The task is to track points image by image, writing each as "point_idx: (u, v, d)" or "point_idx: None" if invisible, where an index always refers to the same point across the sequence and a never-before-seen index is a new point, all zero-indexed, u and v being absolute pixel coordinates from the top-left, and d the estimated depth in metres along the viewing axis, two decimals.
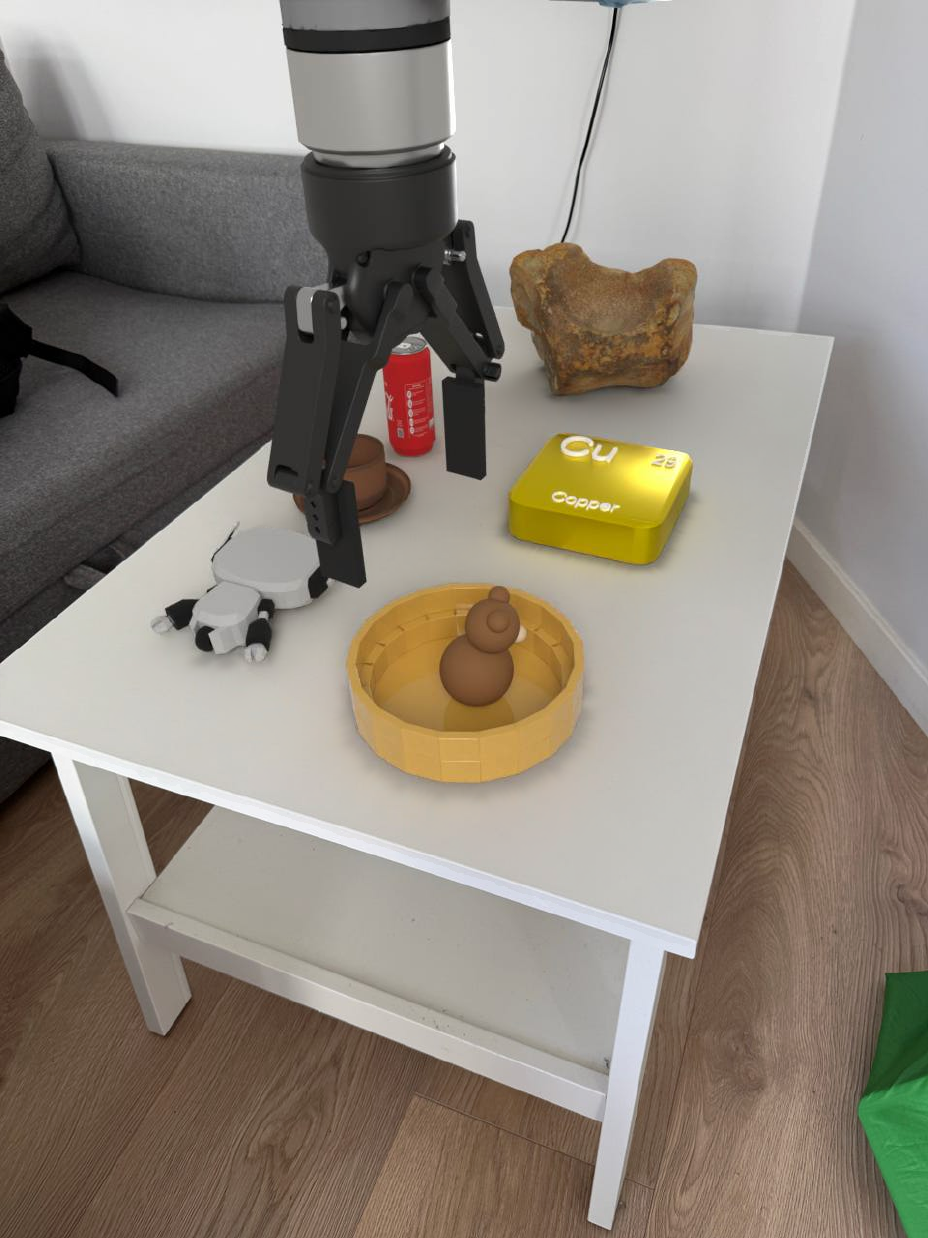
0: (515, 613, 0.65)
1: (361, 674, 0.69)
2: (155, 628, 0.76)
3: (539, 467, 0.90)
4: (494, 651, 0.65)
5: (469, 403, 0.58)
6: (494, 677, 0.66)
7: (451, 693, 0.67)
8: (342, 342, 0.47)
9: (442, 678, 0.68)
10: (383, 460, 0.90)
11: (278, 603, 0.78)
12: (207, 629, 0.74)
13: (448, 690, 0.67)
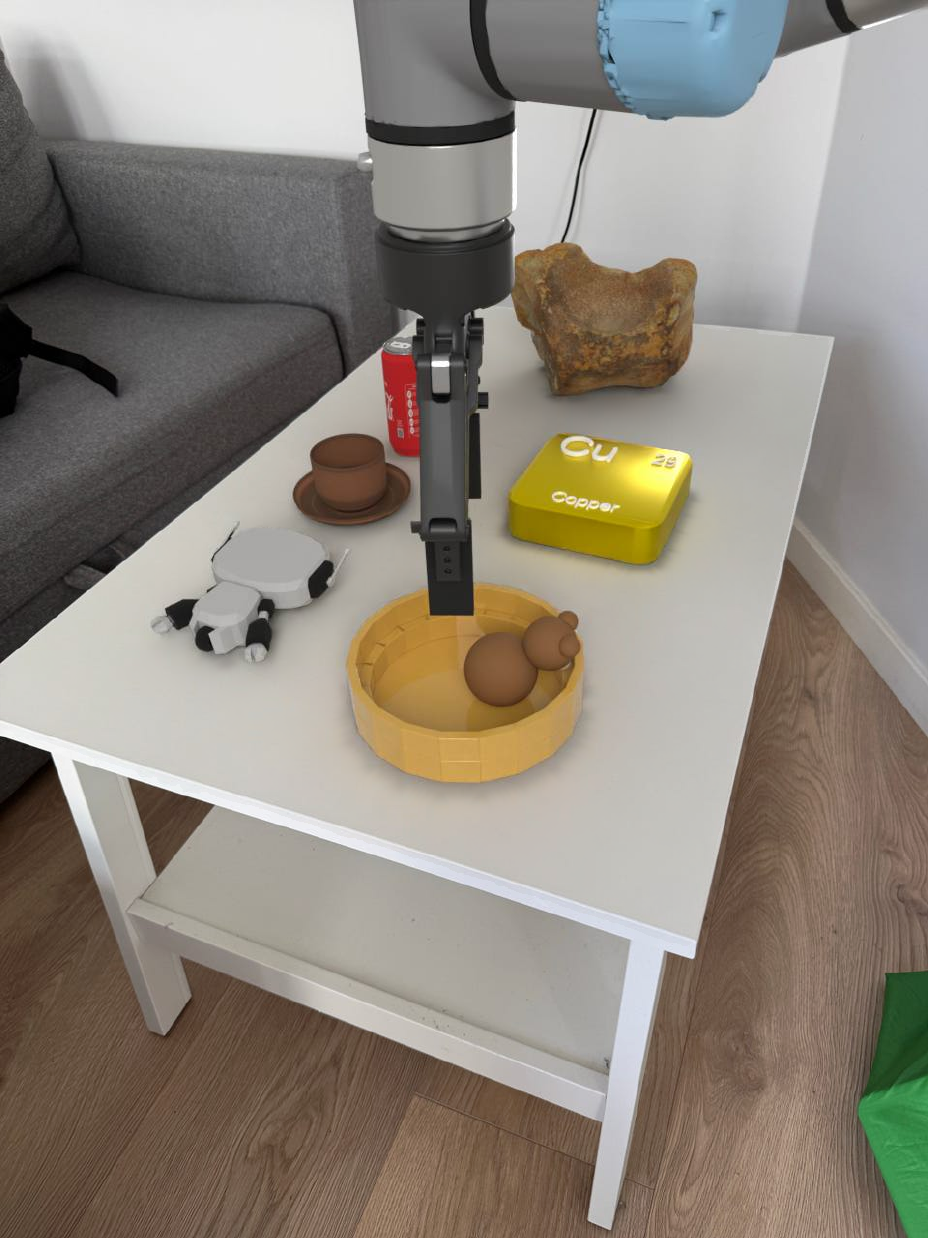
0: None
1: (361, 674, 0.69)
2: (155, 628, 0.76)
3: (540, 467, 0.90)
4: (543, 668, 0.66)
5: (469, 432, 0.63)
6: (525, 688, 0.67)
7: (476, 681, 0.66)
8: None
9: (475, 663, 0.66)
10: (383, 460, 0.90)
11: (278, 603, 0.78)
12: (207, 629, 0.74)
13: (474, 677, 0.67)
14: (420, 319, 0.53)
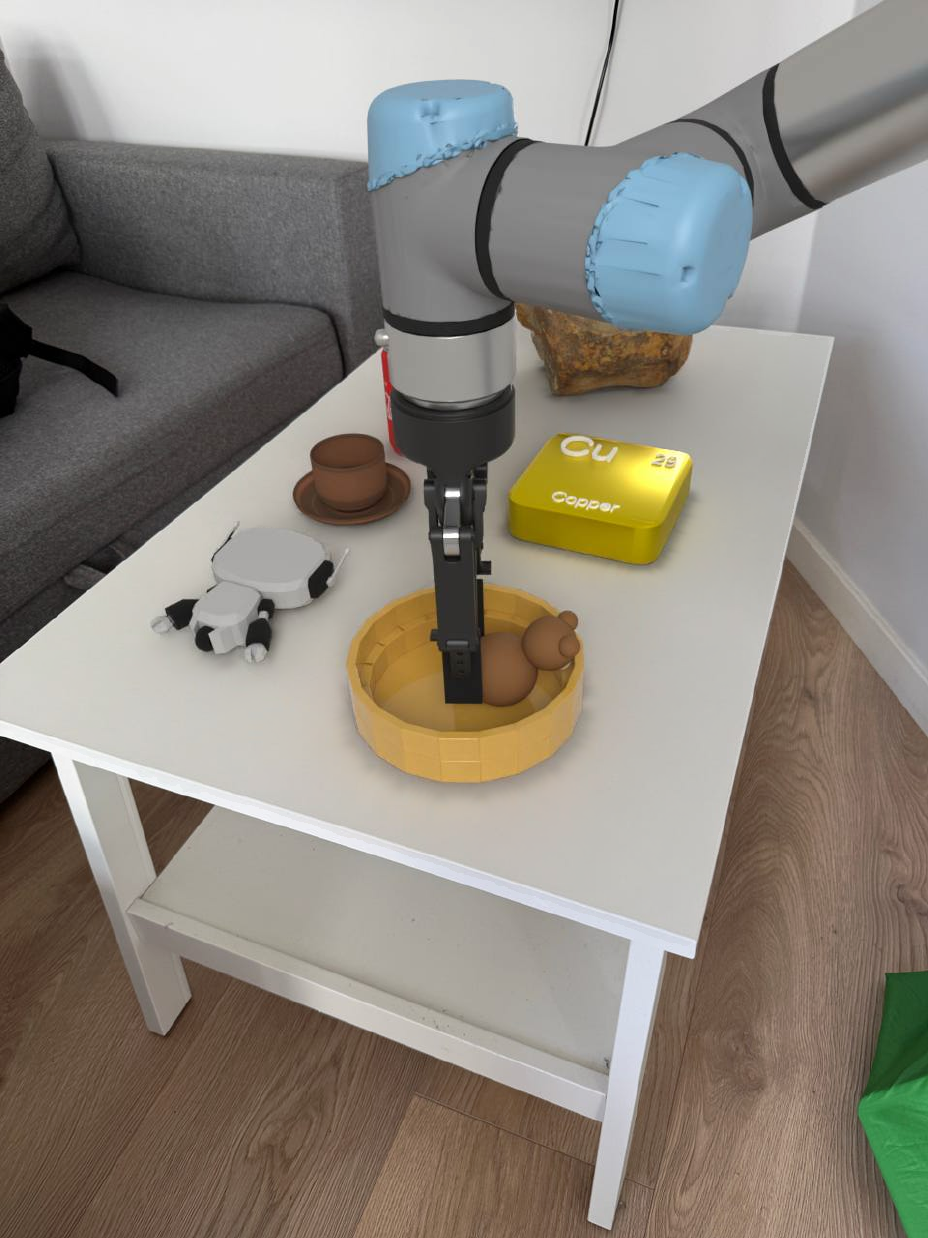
0: None
1: (361, 674, 0.69)
2: (155, 628, 0.76)
3: (540, 467, 0.90)
4: (543, 668, 0.66)
5: None
6: (524, 688, 0.67)
7: None
8: None
9: None
10: (383, 460, 0.90)
11: (278, 603, 0.78)
12: (207, 629, 0.74)
13: None
14: None
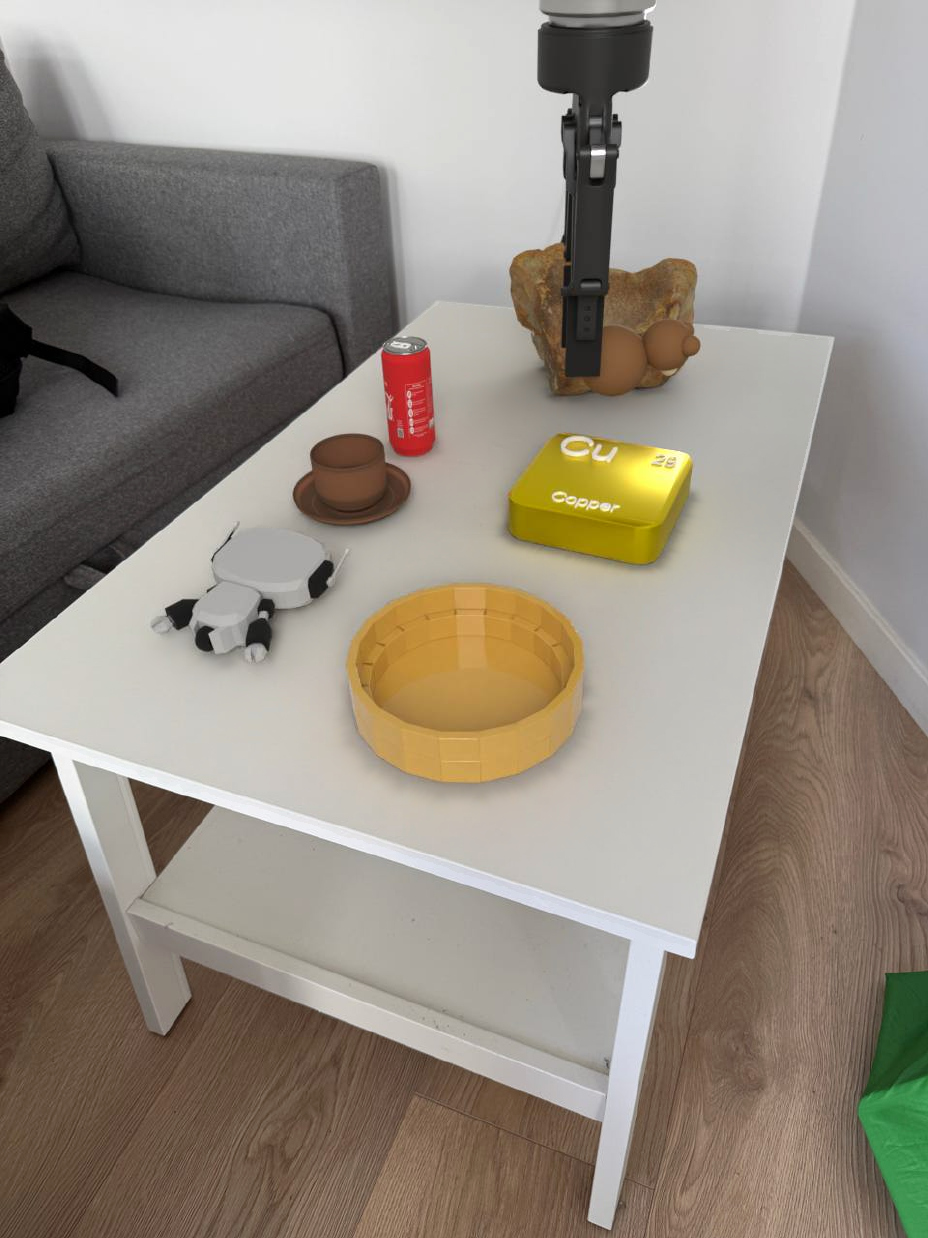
0: None
1: (361, 674, 0.69)
2: (155, 628, 0.76)
3: (540, 467, 0.90)
4: (660, 361, 0.72)
5: None
6: (636, 378, 0.73)
7: None
8: None
9: None
10: (383, 460, 0.90)
11: (278, 603, 0.78)
12: (207, 629, 0.74)
13: None
14: (564, 115, 0.64)
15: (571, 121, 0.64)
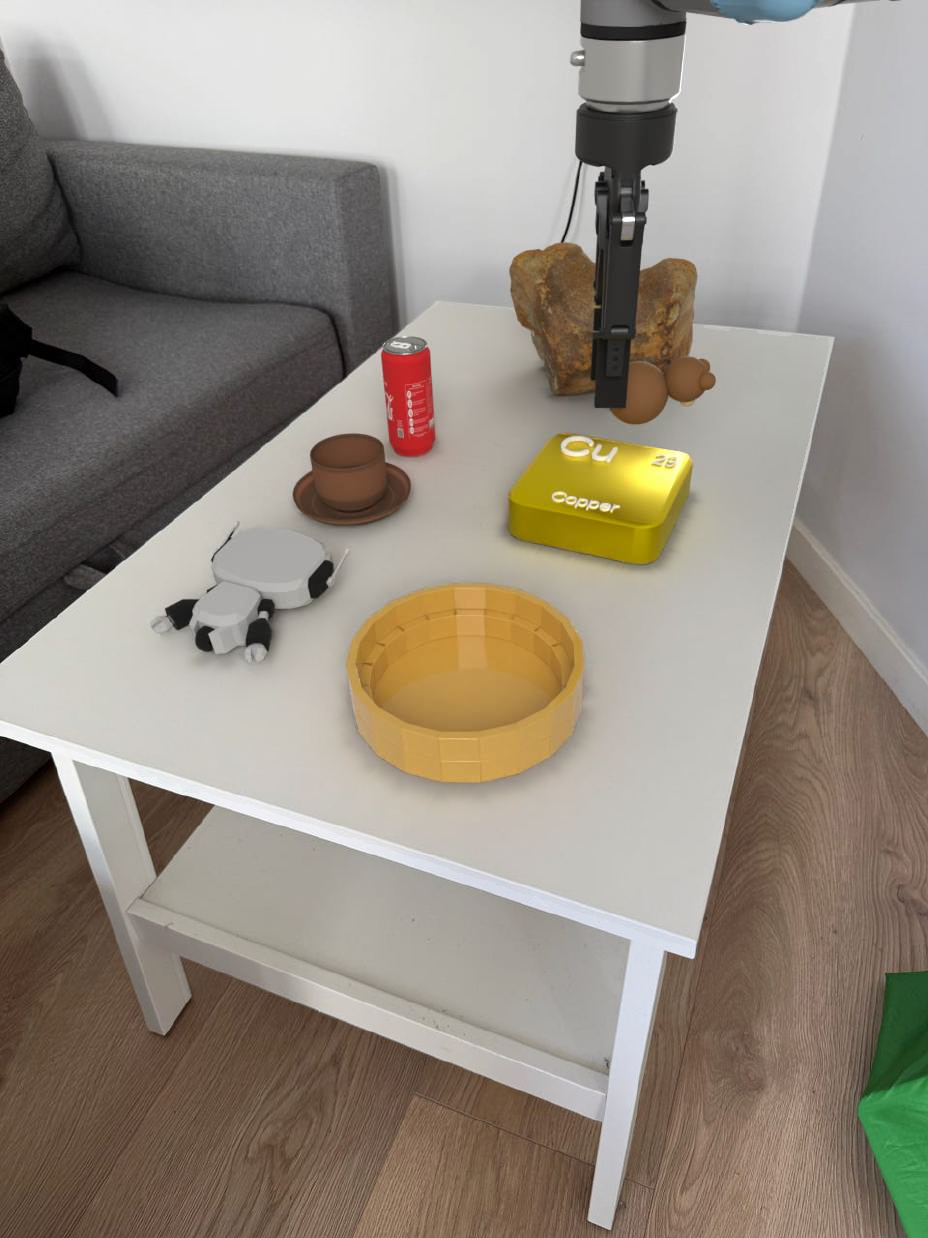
0: None
1: (361, 674, 0.69)
2: (155, 628, 0.76)
3: (540, 467, 0.90)
4: (679, 394, 0.81)
5: None
6: (658, 408, 0.81)
7: None
8: None
9: None
10: (383, 460, 0.90)
11: (278, 603, 0.78)
12: (207, 629, 0.74)
13: None
14: (598, 181, 0.73)
15: (604, 187, 0.73)
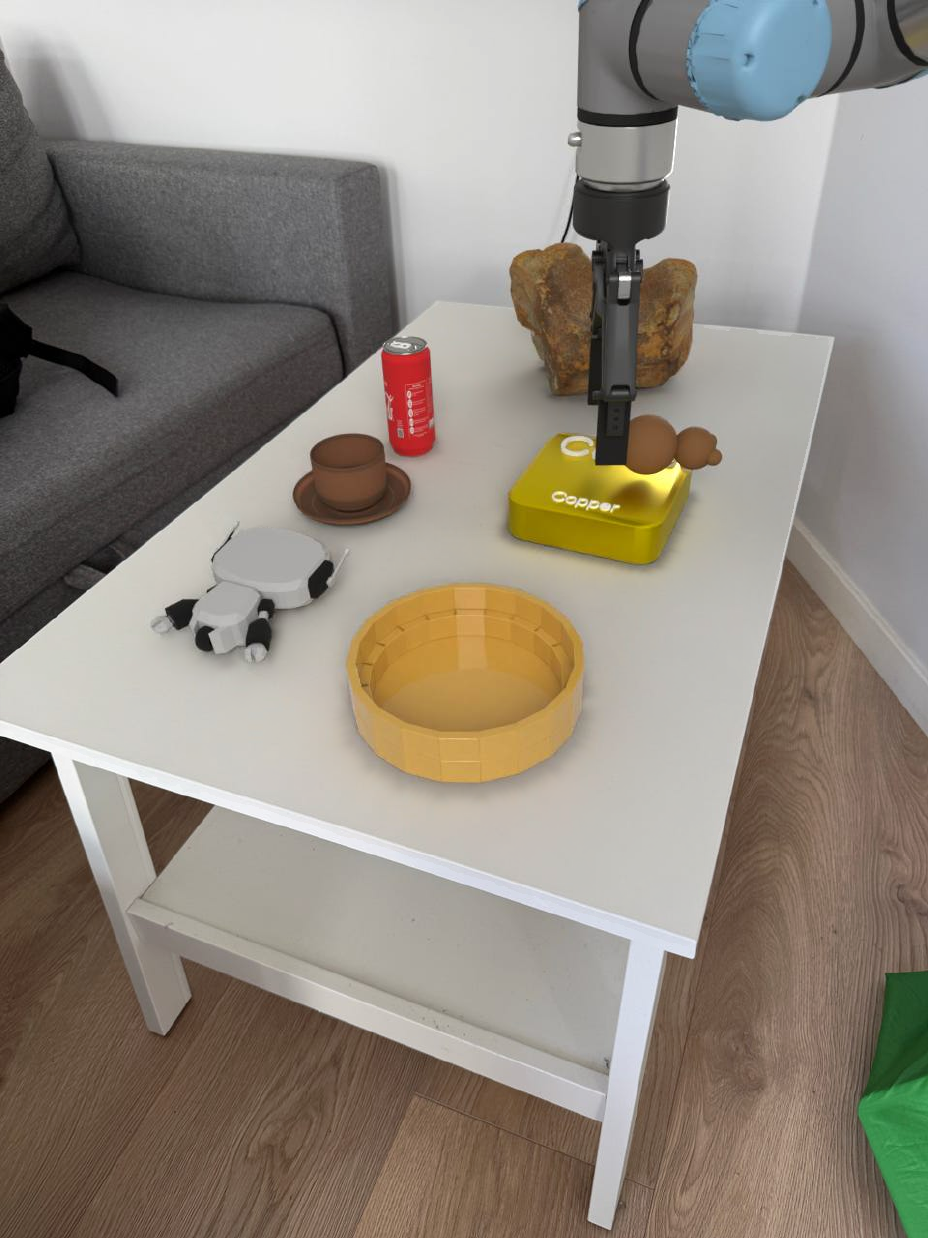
0: None
1: (361, 674, 0.69)
2: (155, 628, 0.76)
3: (540, 467, 0.90)
4: (686, 461, 0.85)
5: None
6: (663, 467, 0.85)
7: (641, 440, 0.83)
8: None
9: (648, 428, 0.83)
10: (383, 460, 0.90)
11: (278, 603, 0.78)
12: (207, 629, 0.74)
13: (642, 437, 0.83)
14: (595, 250, 0.76)
15: (600, 256, 0.76)
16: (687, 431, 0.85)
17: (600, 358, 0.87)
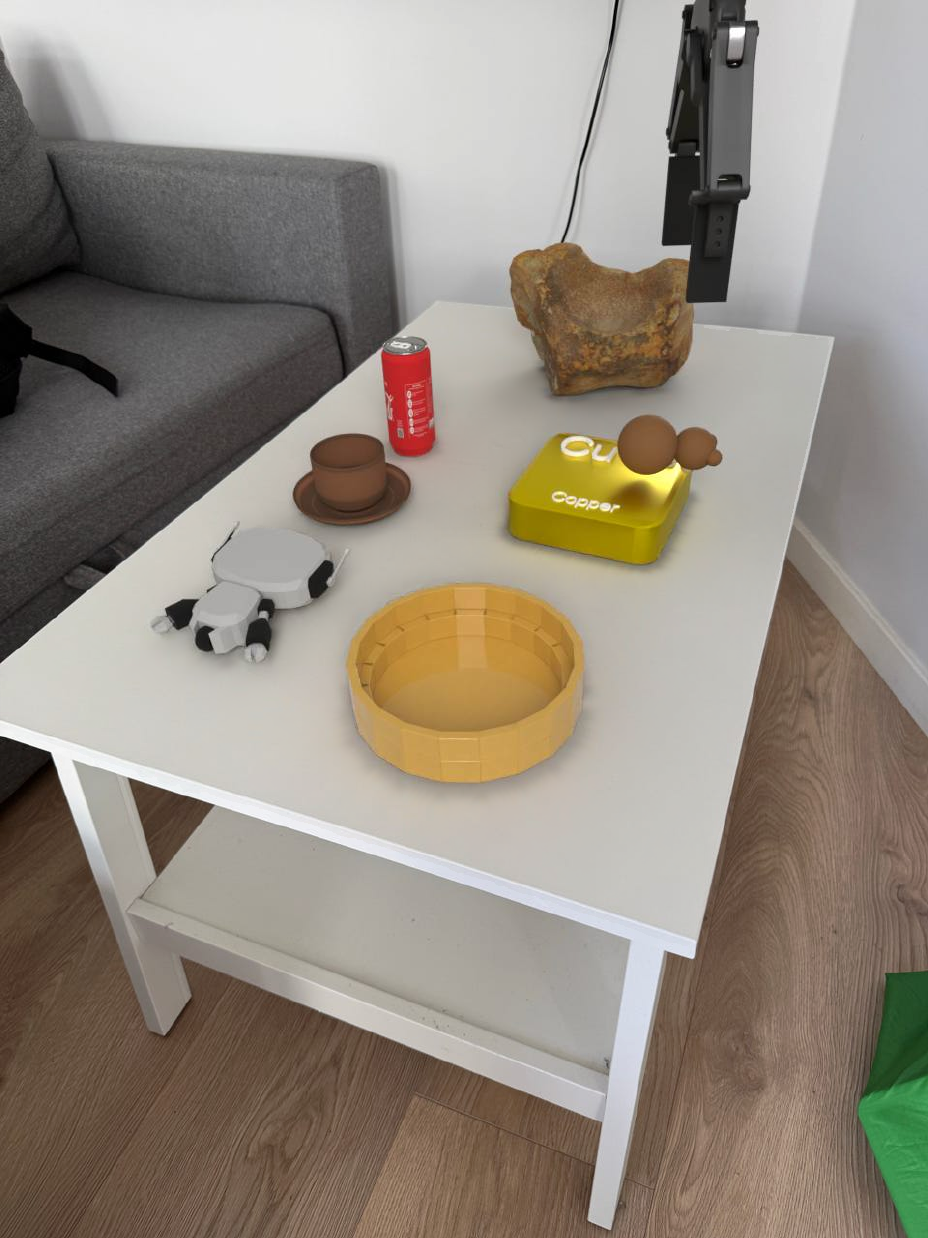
0: None
1: (361, 674, 0.69)
2: (155, 628, 0.76)
3: (540, 467, 0.90)
4: (686, 461, 0.85)
5: (695, 173, 0.71)
6: (663, 467, 0.85)
7: (641, 440, 0.83)
8: None
9: (648, 428, 0.83)
10: (383, 460, 0.90)
11: (278, 603, 0.78)
12: (207, 629, 0.74)
13: (642, 437, 0.83)
14: (687, 29, 0.61)
15: None
16: (687, 431, 0.85)
17: (680, 181, 0.72)
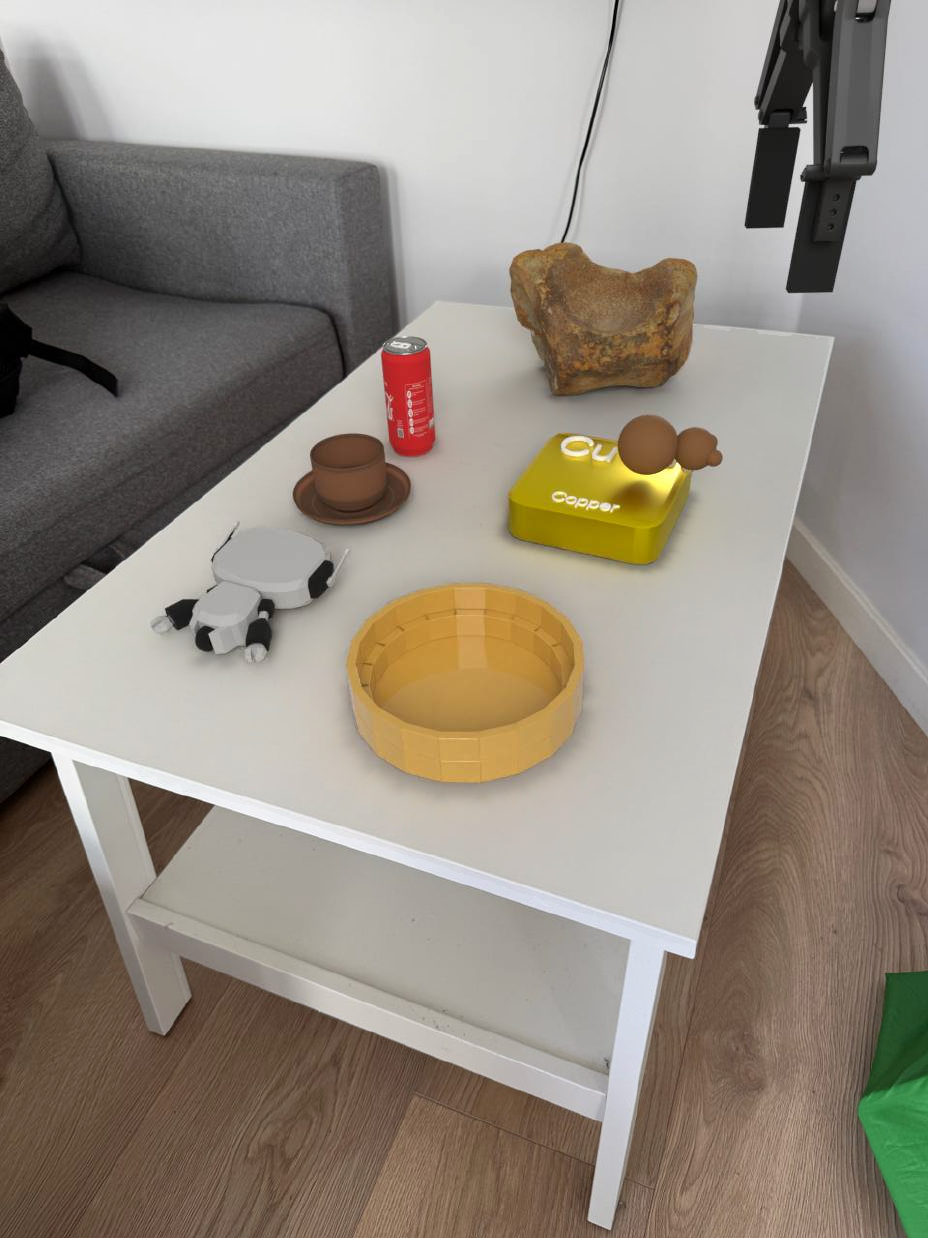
0: None
1: (361, 674, 0.69)
2: (155, 628, 0.76)
3: (540, 467, 0.90)
4: (686, 461, 0.85)
5: (787, 147, 0.64)
6: (663, 467, 0.85)
7: (642, 440, 0.83)
8: (831, 42, 0.51)
9: (648, 428, 0.83)
10: (383, 460, 0.90)
11: (278, 603, 0.78)
12: (207, 629, 0.74)
13: (643, 437, 0.83)
14: None
15: None
16: (688, 432, 0.85)
17: (771, 156, 0.64)
